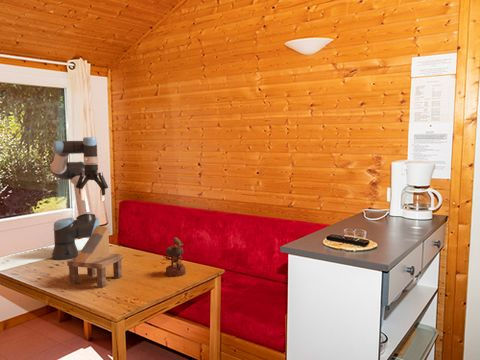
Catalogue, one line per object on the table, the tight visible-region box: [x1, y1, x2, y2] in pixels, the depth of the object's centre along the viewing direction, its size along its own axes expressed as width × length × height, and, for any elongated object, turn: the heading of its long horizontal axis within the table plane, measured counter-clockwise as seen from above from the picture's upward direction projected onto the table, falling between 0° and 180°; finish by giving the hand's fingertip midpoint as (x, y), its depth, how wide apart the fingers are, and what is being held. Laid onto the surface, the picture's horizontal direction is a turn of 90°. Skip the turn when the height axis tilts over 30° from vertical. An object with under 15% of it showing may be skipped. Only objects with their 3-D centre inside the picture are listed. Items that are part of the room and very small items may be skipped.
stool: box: [66, 252, 124, 289], centre depth 214 cm, size 20×18×12 cm
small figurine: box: [163, 237, 187, 278], centre depth 223 cm, size 15×11×20 cm
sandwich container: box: [75, 225, 110, 263], centre depth 211 cm, size 9×15×15 cm, turn 150°
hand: (92, 200), depth 243 cm, fingers open, 13 cm apart
